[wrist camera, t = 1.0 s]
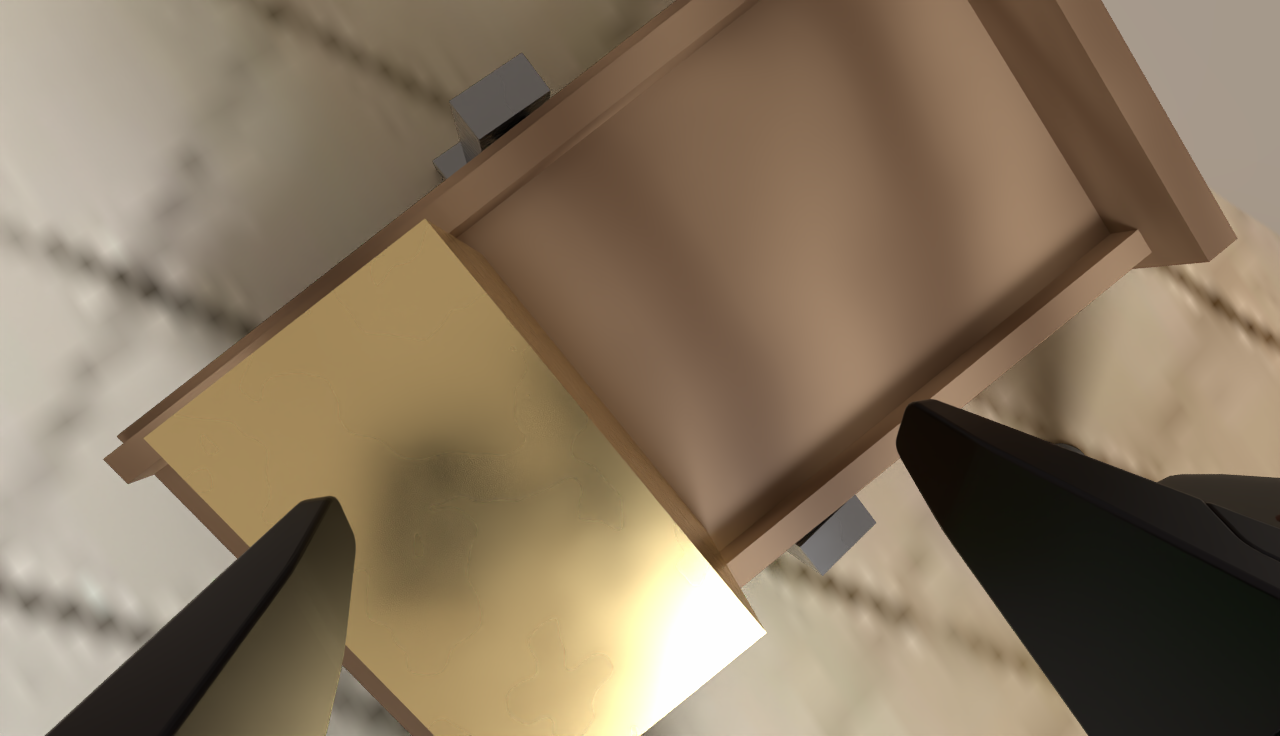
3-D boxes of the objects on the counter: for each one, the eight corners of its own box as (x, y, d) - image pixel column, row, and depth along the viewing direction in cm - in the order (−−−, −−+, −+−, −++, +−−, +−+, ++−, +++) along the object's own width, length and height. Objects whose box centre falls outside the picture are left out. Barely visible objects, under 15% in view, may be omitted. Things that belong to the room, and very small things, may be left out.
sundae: (1048, 395, 25) (1801, 435, 10) (1132, 484, 26) (1922, 635, 11) (969, 506, 24) (1673, 726, 9) (1060, 594, 25) (1818, 914, 10)
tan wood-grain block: (545, 663, 15) (526, 829, 10) (300, 395, 14) (142, 438, 9) (707, 531, 15) (765, 633, 10) (481, 253, 14) (424, 218, 9)
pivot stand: (747, 553, 22) (820, 615, 16) (435, 167, 19) (400, 88, 14) (972, 339, 24) (1103, 331, 19) (721, -31, 21) (788, -165, 16)
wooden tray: (496, 751, 18) (469, 881, 14) (171, 412, 16) (25, 446, 12) (1095, 263, 18) (1242, 247, 14) (856, -122, 16) (947, -269, 12)
